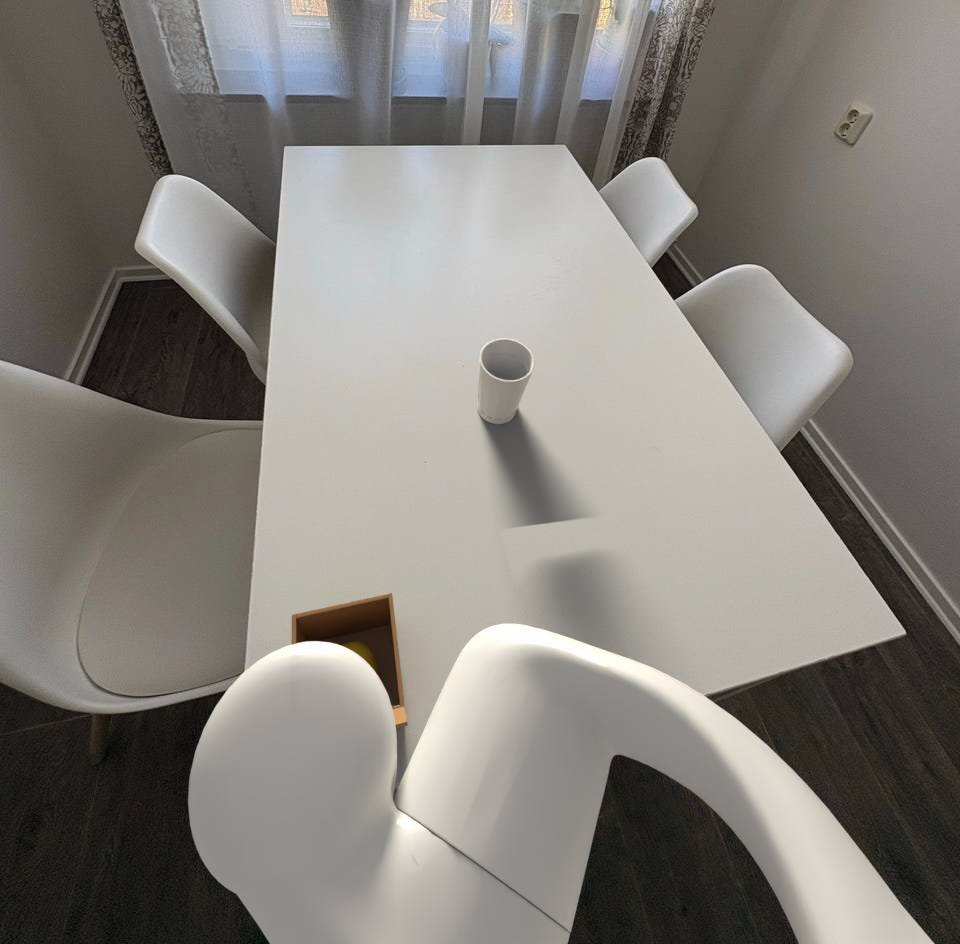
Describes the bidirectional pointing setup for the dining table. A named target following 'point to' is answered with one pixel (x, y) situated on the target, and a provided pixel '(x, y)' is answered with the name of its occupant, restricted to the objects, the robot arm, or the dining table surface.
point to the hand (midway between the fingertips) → (348, 792)
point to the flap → (400, 717)
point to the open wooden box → (358, 634)
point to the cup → (502, 379)
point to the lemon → (364, 653)
